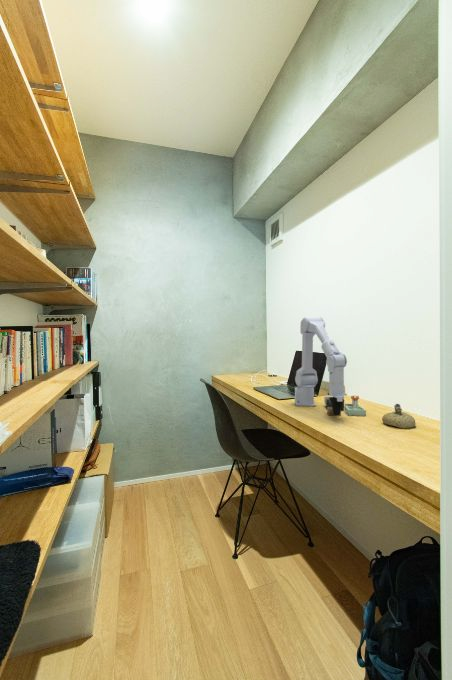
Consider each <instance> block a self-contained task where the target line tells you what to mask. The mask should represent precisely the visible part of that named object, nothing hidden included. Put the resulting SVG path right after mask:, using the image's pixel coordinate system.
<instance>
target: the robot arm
mask: <svg viewBox="0 0 452 680" xmlns="http://www.w3.org/2000/svg"><path fill="white" fill-rule="evenodd" d="M299 328H300V331H299V332H300V334H301V336H302V339H301V341H302V342H301V343H302V344H301V345H302V346H301V367H300V368H298V369H297V370H296V372H295V377H294V381H295V384H296V386H294V404H295V406H299V407H300V406H301V407H316V403H315V388H316V385H317V384H318V381H319V378H318V374H317V370H315V368H313V355H314V354H313V353H314V350H313V349H314V344H313V343H314V336H315V335H316V336H317V338H318V340H319V341H320V343H321V346H320V347H321V349H322V351H323V354H324V355H325V357H326V360H325V363H326V367H327V371H328V373H329V374H328V377H329V383H328V385H329V392H328V395H329V396H328V397H329V399H330V401H331V404H332V409H333V413H334V415H340V411H341V412H342V410H341V407H342V404H343V402H344V403H345V399H343V396H344V397H345V396H347V394H348V393H347V392H344V391H345V389H344V388H345V387H344V386H345V382H344V380H345V376H344V375H345V372H344V371H345V370H344V369H345V367H346V366H347V363H348V361H347V360H348V359H347V357H346V355H345V353H342V352H340V350H339V348H338V346H337V345H336V343H335V342H334V341H333V340H330V338H329V336H328V333H327V331H326V322H325V320H324V318H323V317H303V318H302V320H301V321H300V327H299Z"/></svg>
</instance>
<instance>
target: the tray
mask: <svg viewBox="0 0 452 680" xmlns="http://www.w3.org/2000/svg"><path fill="white" fill-rule="evenodd" d="M344 412H345V413H346V415H347V416H352V417H367V409H365V407H363V406H360V405H359V406H358V410H352V406H345V405H344Z"/></svg>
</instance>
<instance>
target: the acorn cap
mask: <svg viewBox="0 0 452 680" xmlns="http://www.w3.org/2000/svg"><path fill="white" fill-rule="evenodd" d="M381 419H382V423H384V424H385V425H387V426H388V425H389V426H392V427H395V428H396V427H397V428H399V429H413V428H414V427H415V426H416V419H415V418H414V417H413V416H412V415H411V414H409V413H407V412H404V411H403V409H402V408H401V405H400V403H395V405H394V411H392V412H386V413H384V414H383V416H382V417H381Z"/></svg>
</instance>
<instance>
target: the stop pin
mask: <svg viewBox="0 0 452 680" xmlns="http://www.w3.org/2000/svg"><path fill="white" fill-rule="evenodd" d="M350 399H351V404H352V410H358V405H359V399H360V396H359V395H351V396H350Z"/></svg>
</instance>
